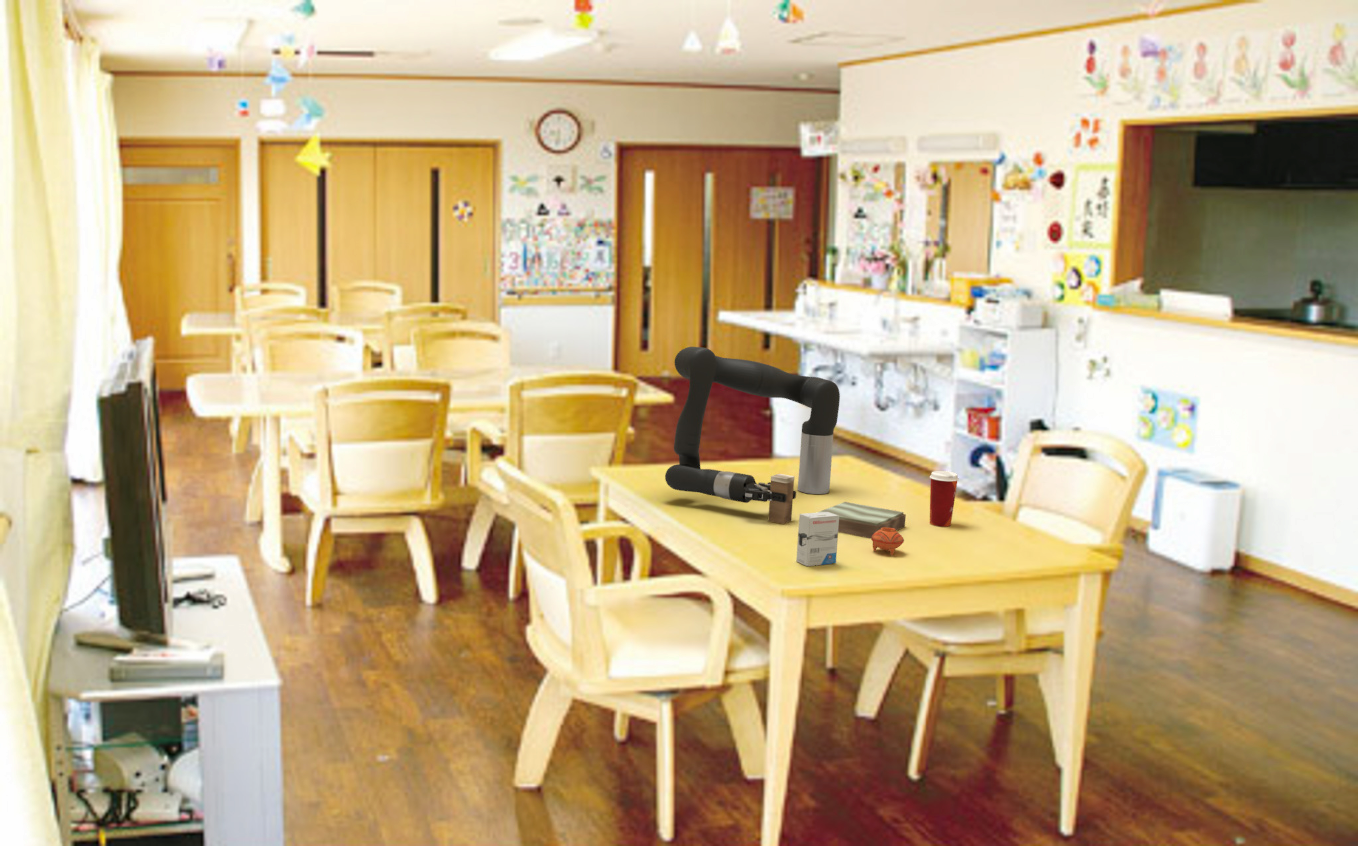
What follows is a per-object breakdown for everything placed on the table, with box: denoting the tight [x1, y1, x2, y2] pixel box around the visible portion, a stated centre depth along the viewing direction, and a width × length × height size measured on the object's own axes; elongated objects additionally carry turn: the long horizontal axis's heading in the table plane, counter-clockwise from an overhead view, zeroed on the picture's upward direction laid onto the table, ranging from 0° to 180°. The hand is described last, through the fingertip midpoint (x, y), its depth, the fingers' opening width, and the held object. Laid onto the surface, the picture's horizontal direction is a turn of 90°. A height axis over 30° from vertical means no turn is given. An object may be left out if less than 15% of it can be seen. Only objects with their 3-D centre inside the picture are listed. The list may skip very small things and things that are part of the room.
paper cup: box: [929, 470, 960, 528], centre depth 374 cm, size 8×8×14 cm
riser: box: [816, 501, 907, 539], centre depth 366 cm, size 18×18×4 cm
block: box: [767, 473, 795, 525], centre depth 368 cm, size 5×5×12 cm
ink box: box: [796, 511, 839, 567], centre depth 328 cm, size 8×5×12 cm, turn 118°
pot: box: [870, 527, 905, 556], centre depth 342 cm, size 8×8×7 cm
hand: (790, 496), depth 366 cm, fingers open, 4 cm apart
